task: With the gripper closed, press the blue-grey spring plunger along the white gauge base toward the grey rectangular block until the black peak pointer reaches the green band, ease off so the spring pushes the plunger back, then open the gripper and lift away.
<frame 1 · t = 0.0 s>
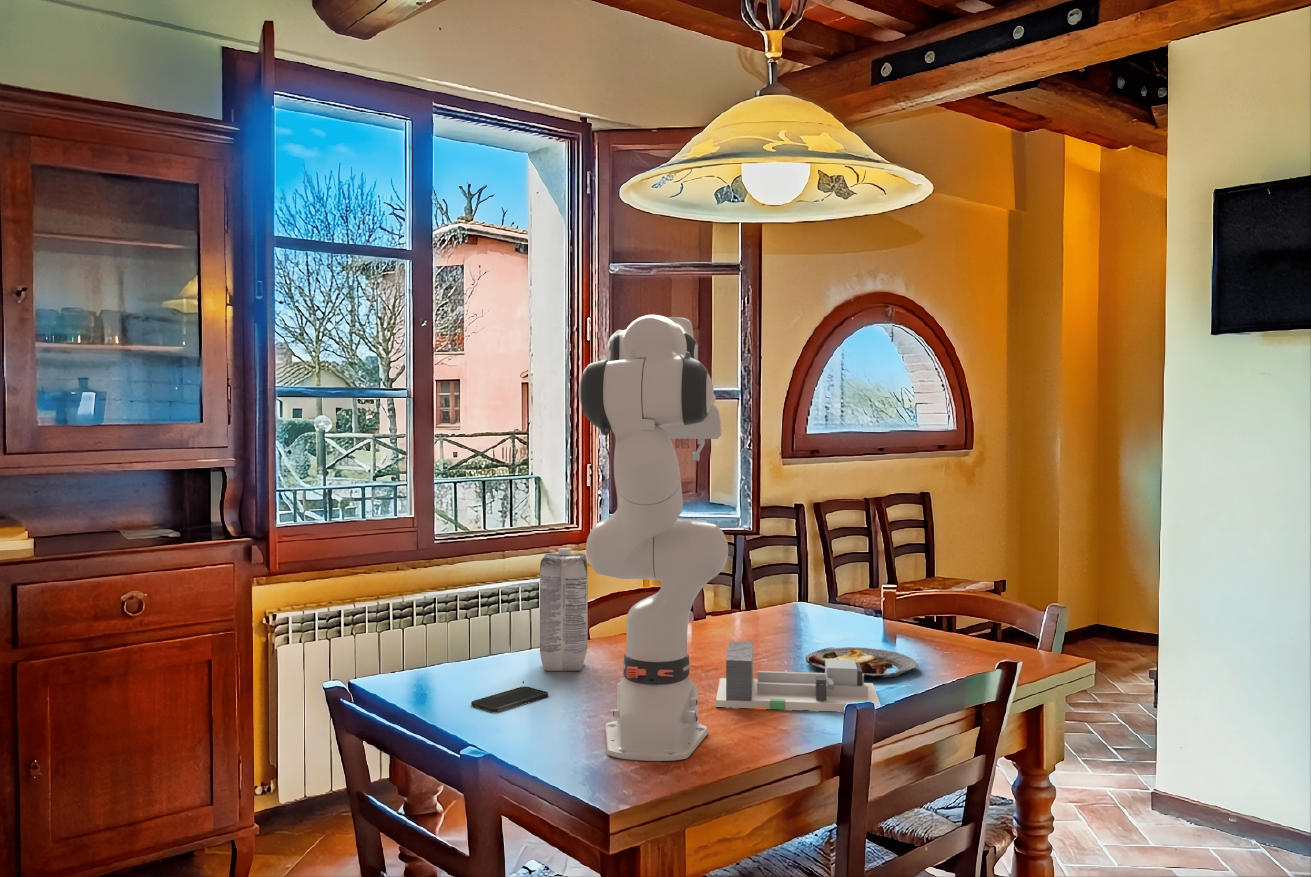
hand: (673, 460, 211), 48 cm above the table, tool pointing down, fingers open, 8 cm apart
phone: (510, 703, 201), on the table
gauge base: (796, 698, 203), on the table
grey rectangular block: (740, 670, 204), point 6 cm above the table
food plate: (860, 670, 227), on the table
peak pointer: (821, 689, 197), point 4 cm above the table, slide at 0.0 cm
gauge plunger: (844, 679, 202), point 4 cm above the table, slide at 0.0 cm
juice carton: (563, 668, 227), on the table
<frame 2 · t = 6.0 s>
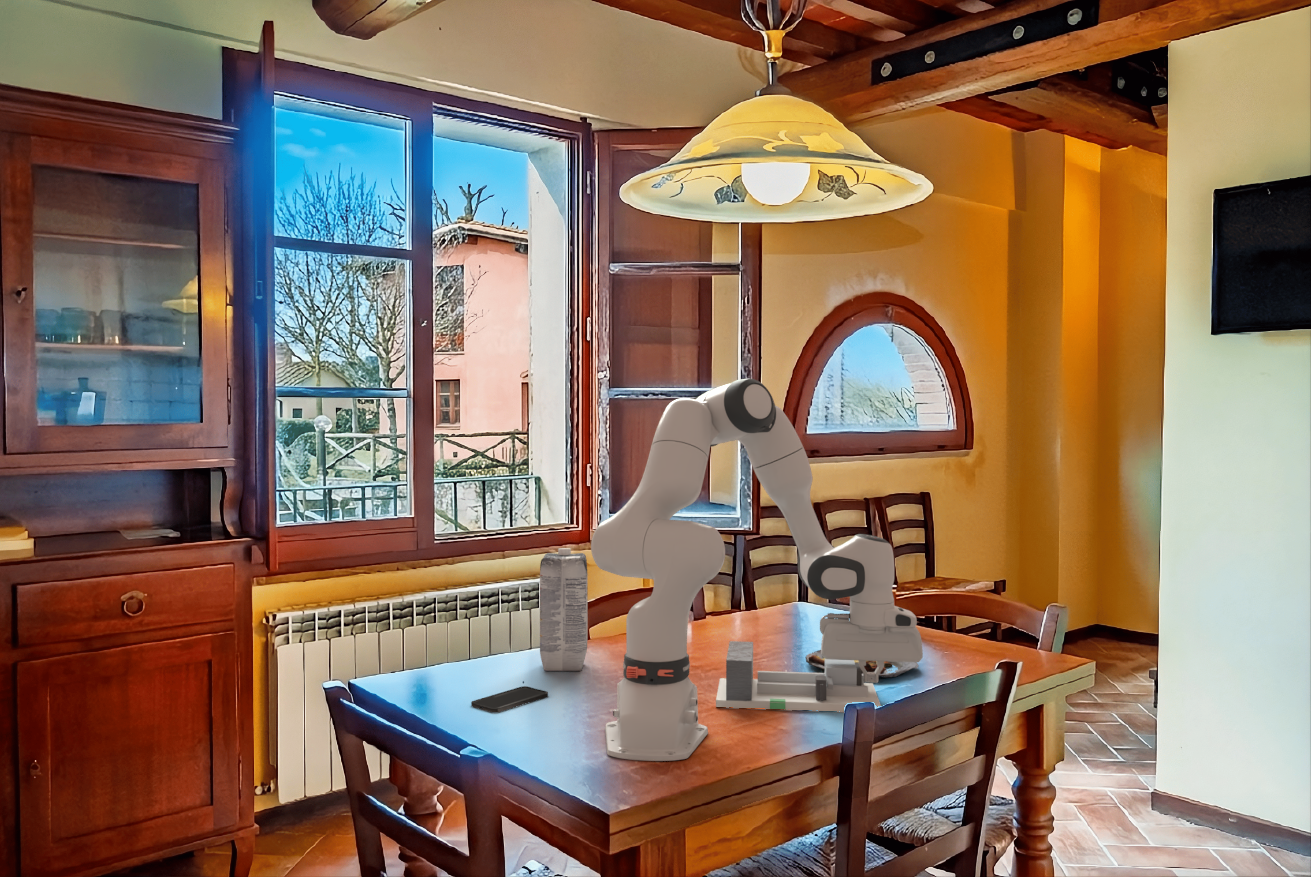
hand: (870, 681, 203), 3 cm above the table, tool pointing down, fingers closed
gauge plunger: (843, 679, 202), point 4 cm above the table, slide at 0.1 cm, touching gripper
everything else where it was.
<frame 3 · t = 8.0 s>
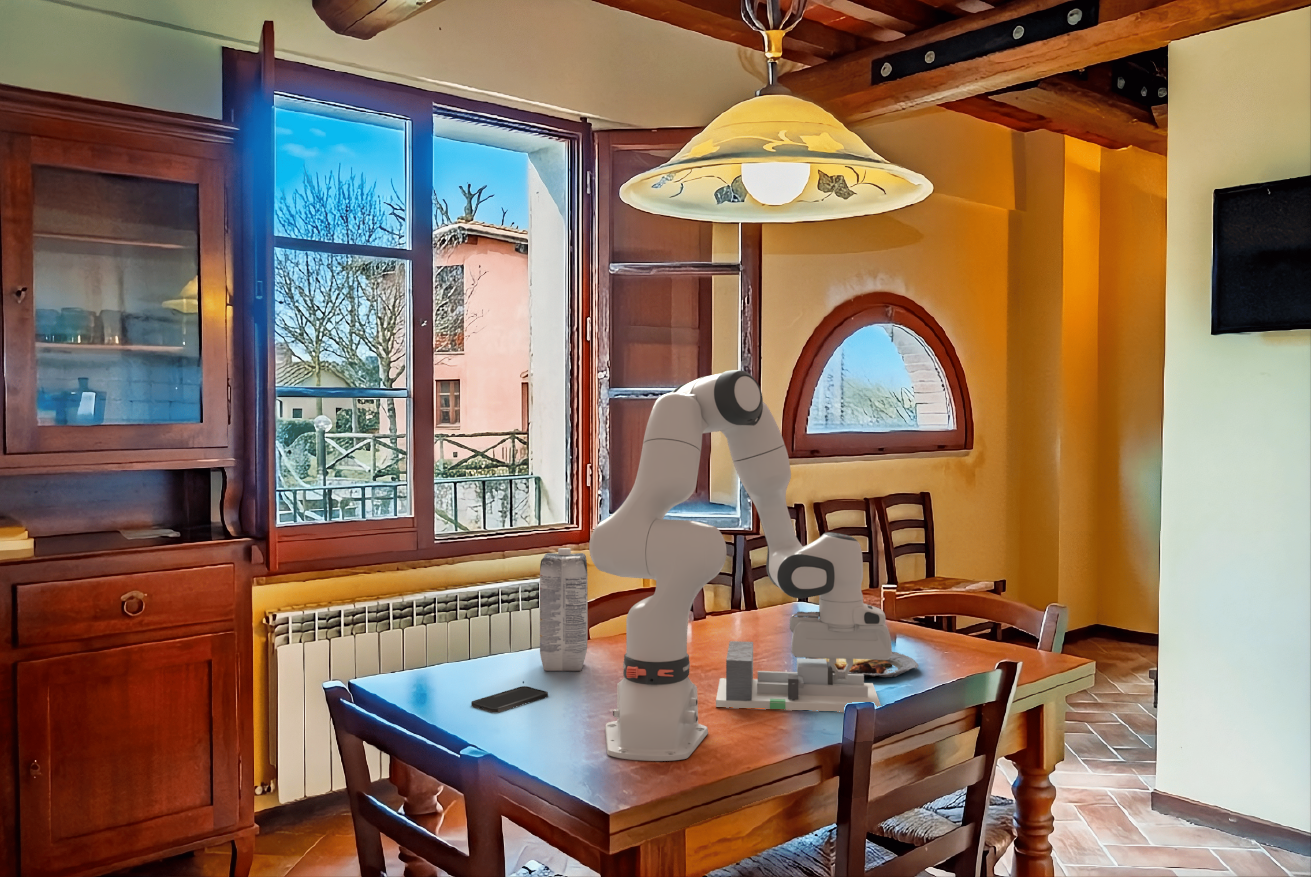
hand: (840, 679, 204), 4 cm above the table, tool pointing down, fingers closed
peak pointer: (793, 688, 197), point 4 cm above the table, slide at 5.5 cm, touching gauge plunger
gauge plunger: (814, 678, 202), point 4 cm above the table, slide at 5.9 cm, touching gripper, peak pointer
everything else where it was.
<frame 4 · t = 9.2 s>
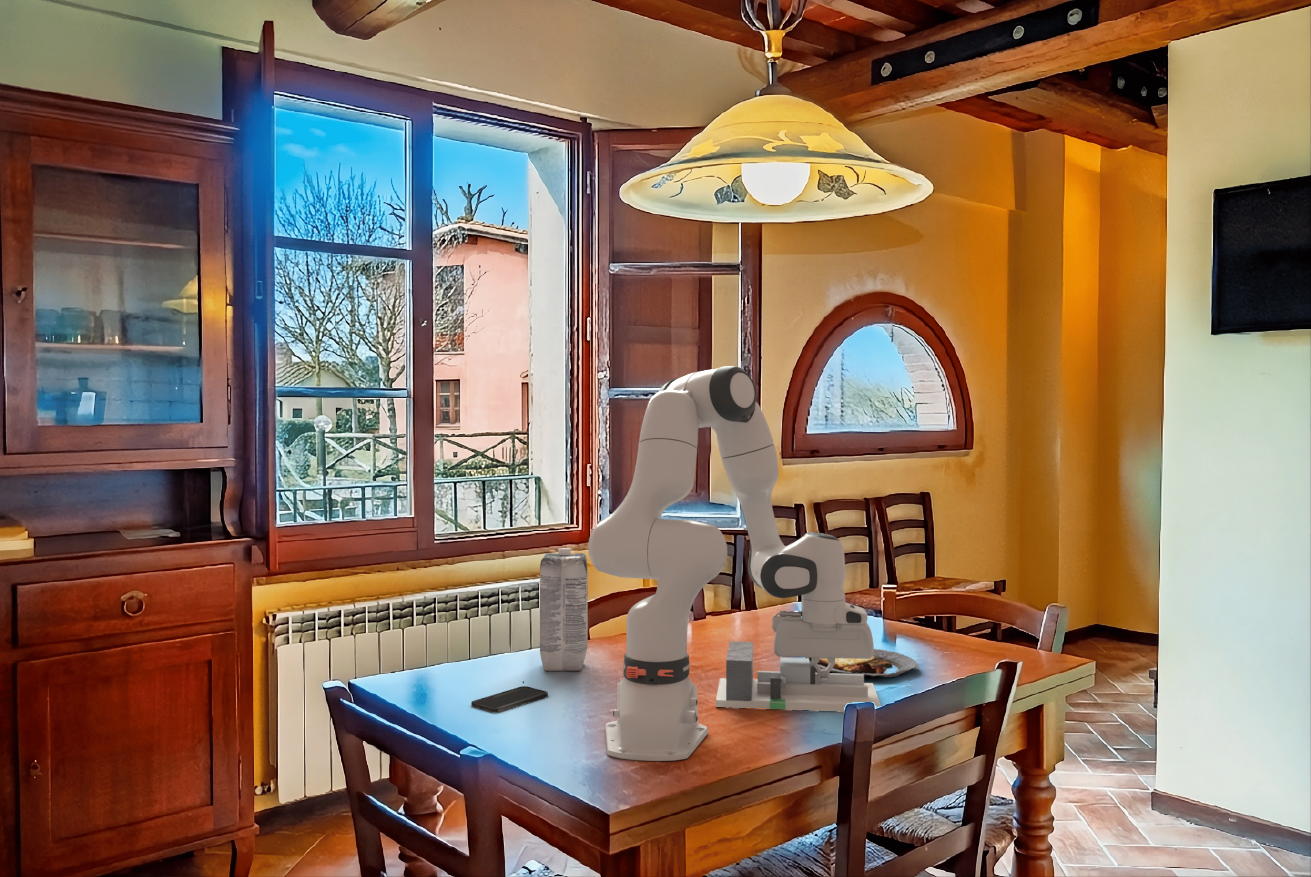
hand: (823, 678, 205), 4 cm above the table, tool pointing down, fingers closed
peak pointer: (775, 687, 198), point 4 cm above the table, slide at 8.9 cm, touching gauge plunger
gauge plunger: (797, 678, 203), point 4 cm above the table, slide at 9.3 cm, touching gripper, peak pointer
everything else where it was.
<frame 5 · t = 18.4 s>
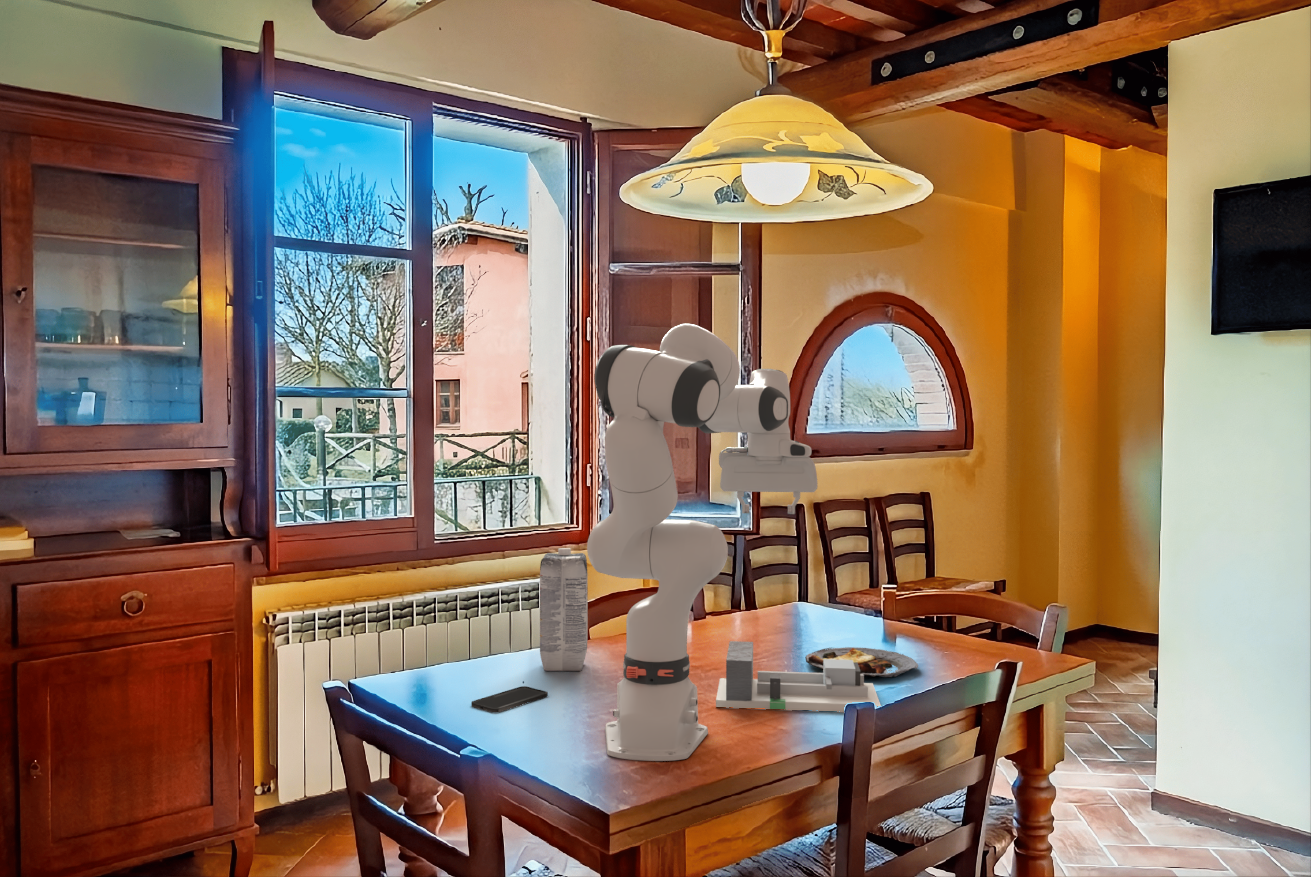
hand: (768, 513, 209), 37 cm above the table, tool pointing down, fingers open, 8 cm apart
peak pointer: (775, 687, 198), point 4 cm above the table, slide at 9.0 cm
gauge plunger: (842, 679, 202), point 4 cm above the table, slide at 0.4 cm
everything else where it was.
at the end: peak pointer slide at 9.0 cm; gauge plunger slide at 0.4 cm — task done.
